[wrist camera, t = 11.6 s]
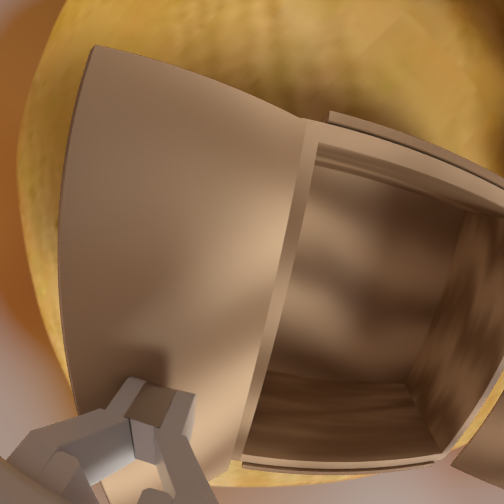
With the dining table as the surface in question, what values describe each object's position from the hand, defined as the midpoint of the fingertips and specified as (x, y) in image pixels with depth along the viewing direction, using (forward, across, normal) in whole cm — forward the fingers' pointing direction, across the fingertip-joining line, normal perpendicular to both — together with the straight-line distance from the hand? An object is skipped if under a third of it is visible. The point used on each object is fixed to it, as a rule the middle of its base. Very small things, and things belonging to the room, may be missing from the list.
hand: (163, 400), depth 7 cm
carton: (+15, -10, 0) cm, 18 cm away
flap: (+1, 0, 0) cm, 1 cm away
